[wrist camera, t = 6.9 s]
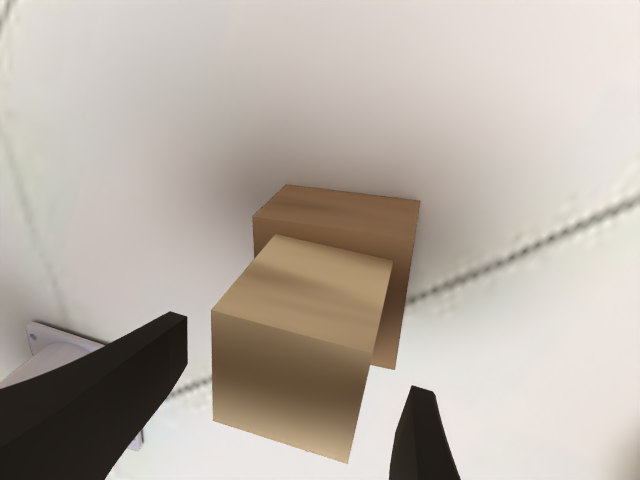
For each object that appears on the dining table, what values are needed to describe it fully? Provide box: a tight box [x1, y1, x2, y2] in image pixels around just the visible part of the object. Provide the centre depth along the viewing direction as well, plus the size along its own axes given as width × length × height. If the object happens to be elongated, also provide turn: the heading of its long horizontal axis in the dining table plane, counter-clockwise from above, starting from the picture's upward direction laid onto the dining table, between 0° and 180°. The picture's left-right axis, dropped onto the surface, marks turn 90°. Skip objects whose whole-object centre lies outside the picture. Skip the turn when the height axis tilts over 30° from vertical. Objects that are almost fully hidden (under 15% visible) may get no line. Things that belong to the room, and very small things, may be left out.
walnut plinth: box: [253, 185, 420, 370], centre depth 18 cm, size 6×6×4 cm
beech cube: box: [211, 234, 393, 464], centre depth 14 cm, size 4×4×5 cm
